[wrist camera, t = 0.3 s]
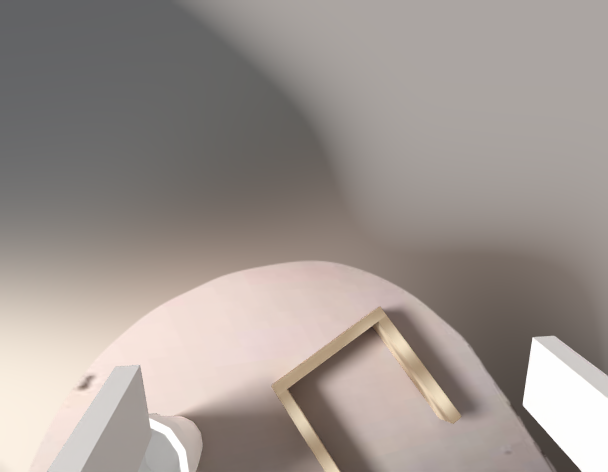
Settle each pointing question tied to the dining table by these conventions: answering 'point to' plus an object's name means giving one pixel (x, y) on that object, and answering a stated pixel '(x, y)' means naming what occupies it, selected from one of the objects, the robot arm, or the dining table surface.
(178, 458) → the foam cup
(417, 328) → the dining table surface
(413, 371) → the corral
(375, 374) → the dining table surface
